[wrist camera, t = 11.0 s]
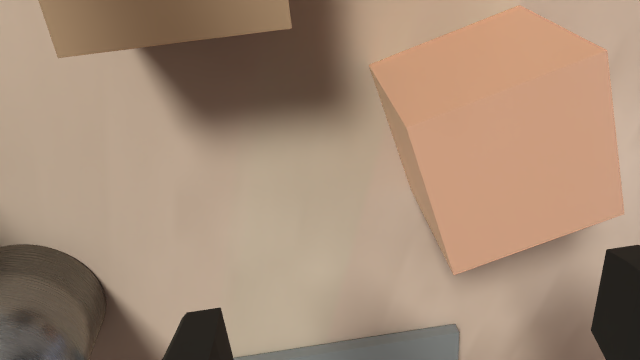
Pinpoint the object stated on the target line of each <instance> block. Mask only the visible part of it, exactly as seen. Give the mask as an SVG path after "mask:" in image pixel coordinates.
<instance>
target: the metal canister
mask: <svg viewBox="0 0 640 360" xmlns="http://www.w3.org/2000/svg"><path fill="white" fill-rule="evenodd" d="M105 311H106V299H105V294H104V291H103V288H102V286H101V285H100V283H99V281H98V280H97V278H96V277H95V275H94V274H93V273H92V272H91V271H90V270H89V269H88V268H87V267H85V266H84V265H83V264H82V263H80V262H79V261H77V260H76V259H75V258H73V257H71V256H69V255H67V254H65V253H62V252H60V251H58V250H54V249H51V248H48V247H43V246H37V245H10V246H5V247H0V360H89V358H90V355H91V352H92V349H93V347H94V344H95V341H96V338H97V335H98V333H99V330H100V327H101V324H102V322H103V319H104V316H105Z"/></svg>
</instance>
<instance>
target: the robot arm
mask: <svg viewBox="0 0 640 360" xmlns="http://www.w3.org/2000/svg"><path fill="white" fill-rule="evenodd" d="M591 331H592V333H593V335H594V337H595V339H596V341H597V343H598V345H599V347H600V349H601V351H602V353H603V355H604V357H605V359H606V360H640V245H634V246H627V247H621V248H614V249H607V250H606V255H605V260H604V265H603V270H602V276H601V281H600V286H599V291H598V296H597V302H596V307H595V312H594V317H593V322H592V327H591ZM162 360H234V359H233V355H232V351H231V347H230V343H229V339H228V335H227V331H226V327H225V323H224V319H223V315H222V311H221V308H215V309H208V310H201V311H195V312H188V313H186V314H185V316H184V317H183V318H182V320H181V322H180V324H179V326H178V328H177V330H176V333H175V335H174V337H173V339H172V341H171V343H170V345H169V347H168V349H167V351H166V353H165V355H164V357H163V359H162Z"/></svg>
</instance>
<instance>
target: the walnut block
mask: <svg viewBox="0 0 640 360" xmlns="http://www.w3.org/2000/svg"><path fill="white" fill-rule="evenodd" d="M39 3H40V6H41V9H42V12H43V15H44V18H45V21H46V24H47V27H48V30H49V33H50V36H51V39H52V42H53V45H54V48H55V51H56V54H57V57H58V58H62V57H70V56H78V55H86V54H94V53H102V52H110V51H118V50H126V49H134V48H142V47H149V46H157V45H165V44H173V43H181V42H189V41H197V40H205V39H213V38H221V37H228V36H236V35H244V34H252V33H260V32H268V31H276V30H284V29H292V25H291V17H290V9H289V1H288V0H39Z"/></svg>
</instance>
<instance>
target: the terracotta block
mask: <svg viewBox="0 0 640 360" xmlns="http://www.w3.org/2000/svg"><path fill="white" fill-rule="evenodd" d="M369 67H370V70H371V73H372V76H373V79H374V82H375V85H376V88H377V91H378V94H379V97H380V100H381V103H382V106H383V109H384V112H385V115H386V118H387V121H388V123H389V126H390V129H391V132H392V135H393V138H394V141H395V144H396V147H397V150H398V153H399V156H400V159H401V162H402V165H403V168H404V171H405V174H406V176H407V179H408V182H409V185H410V188H411V191H412V193H413V195H414V197H415V199H416V201H417V203H418V205H419V207H420V209H421V211H422V213H423V215H424V217H425V219H426V221H427V223H428V225H429V227H430V229H431V231H432V233H433V235H434V237H435V239H436V241H437V243H438V245H439V247H440V249H441V251H442V253H443V255H444V257H445V259H446V261H447V263H448V265H449V267H450V269H451V271H452V273H453V275H456V274H459V273H462V272H464V271H467V270H470V269H473V268H476V267H478V266H481V265H484V264H487V263H489V262H492V261H495V260H498V259H501V258H503V257H506V256H509V255H512V254H514V253H517V252H520V251H523V250H526V249H528V248H531V247H534V246H537V245H539V244H542V243H545V242H548V241H551V240H553V239H556V238H559V237H562V236H565V235H567V234H570V233H573V232H576V231H578V230H581V229H584V228H587V227H590V226H592V225H595V224H598V223H601V222H603V221H606V220H609V219H612V218H615V217H617V216H620V215H623V214H624V206H623V196H622V187H621V177H620V168H619V158H618V149H617V139H616V130H615V120H614V111H613V101H612V92H611V83H610V73H609V64H608V54H607V50H605V49H603V48H602V47H600V46H598V45H596V44H594V43H592V42H590V41H588V40H586V39H584V38H582V37H580V36H578V35H576V34H574V33H572V32H571V31H569V30H567V29H565V28H563V27H561V26H559V25H557V24H555V23H553V22H551V21H549V20H547V19H545V18H543V17H541V16H540V15H538V14H536V13H534V12H532V11H530V10H528V9H526V8H524V7H522V6H520V5H519V6H516V7H514V8H511V9H509V10H506V11H504V12H501V13H499V14H496V15H493V16H491V17H488V18H486V19H483V20H481V21H478V22H476V23H473V24H471V25H468V26H466V27H463V28H461V29H458V30H456V31H453V32H451V33H448V34H446V35H443V36H441V37H438V38H435V39H433V40H430V41H428V42H425V43H423V44H420V45H418V46H415V47H413V48H410V49H408V50H405V51H403V52H400V53H398V54H395V55H393V56H390V57H388V58H385V59H382V60H380V61H377V62H375V63H372V64H370V65H369Z"/></svg>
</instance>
